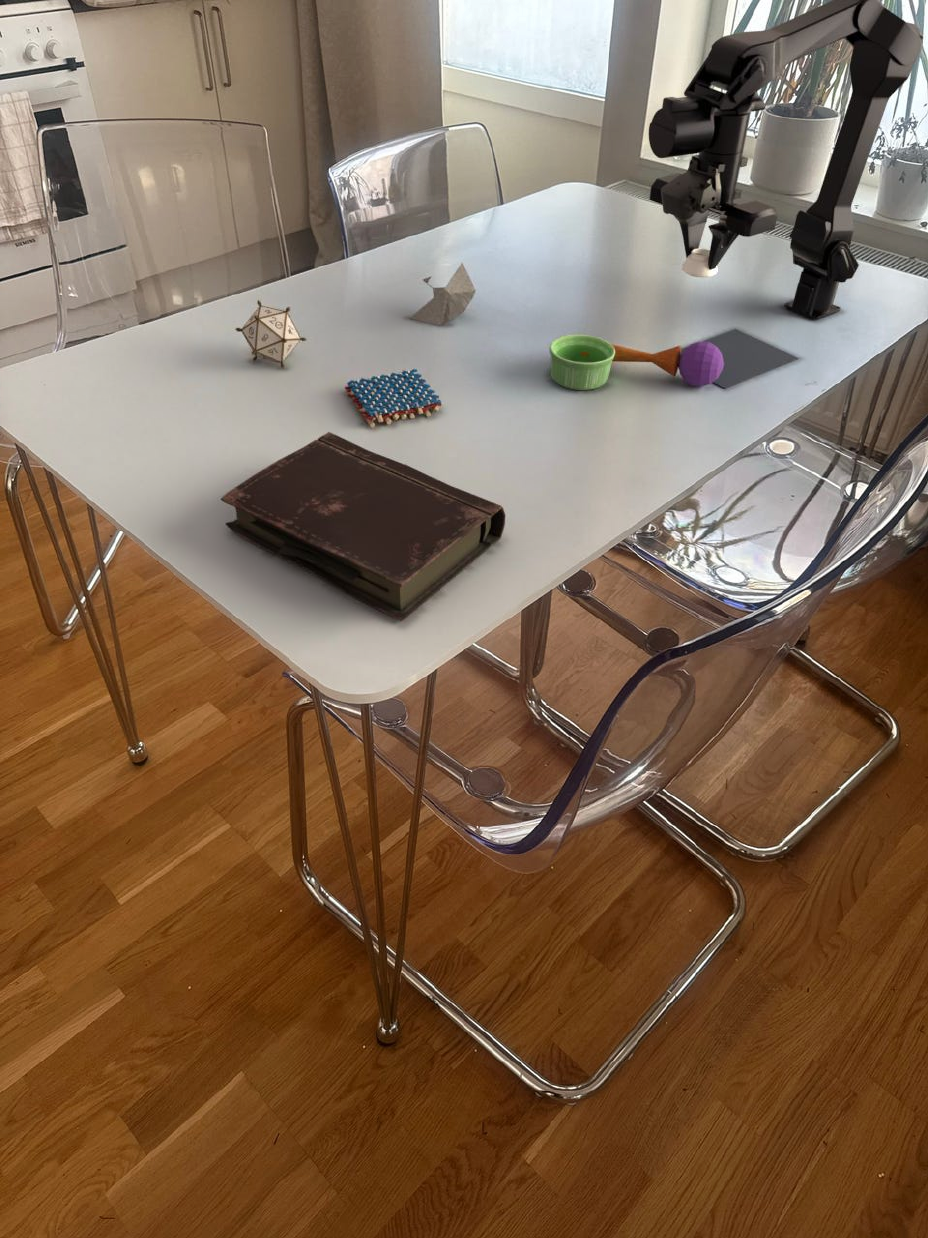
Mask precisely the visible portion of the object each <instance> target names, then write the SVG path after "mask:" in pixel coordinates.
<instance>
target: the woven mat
mask: <svg viewBox="0 0 928 1238" xmlns="http://www.w3.org/2000/svg"><path fill="white" fill-rule="evenodd" d="M417 372H418V369H417V368H413V369H411V370H404V369H403V370H402V371H400V372H398V373H396V372H393V371H392V372H391V373H388V374H381V375H377V376H375V375H372V376H371V377H368V378H364V377H361V378H360V379H356V380H354V379H351V380H350V381H347V382H346V384H347V385H346V386H344V389H345V391H346V393H347V397H349V398H351V401H352V403H354V404H355V406H356V407H357V409H358V410H359V414H361V415H362V416H363V418H364V420H366V422H367V423H368V425H369V426H370V427H371V428H372V429H373V428H374V427H376V423H375V422H378V423H379V424H380V423H383V422H384V421H385V423H386V424H387V425H388V426H389V425H392V422H393V421H392V419H393V420H395V421H397V420H398V419H399V418H400V417H401V419H402V420H406V419H407V416H408V417H409V419H415V416H416V415H419V416H420V415H423V414H425V416H426V417H430V416H432V414H431V412H430V409H431V410H432V411H433V412H435V413H438V411H439V410H440V407H442V401H441V400H440V399H439V397H440V396H439V395H437V394H435V390H434V389H431V385H430V384H427V383H426V381H427V380H426V379H425V378H422V374H421V373H417ZM429 388H430V389H429ZM415 414H416V415H415ZM390 417H391V418H390ZM374 421H375V422H374Z"/></svg>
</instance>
